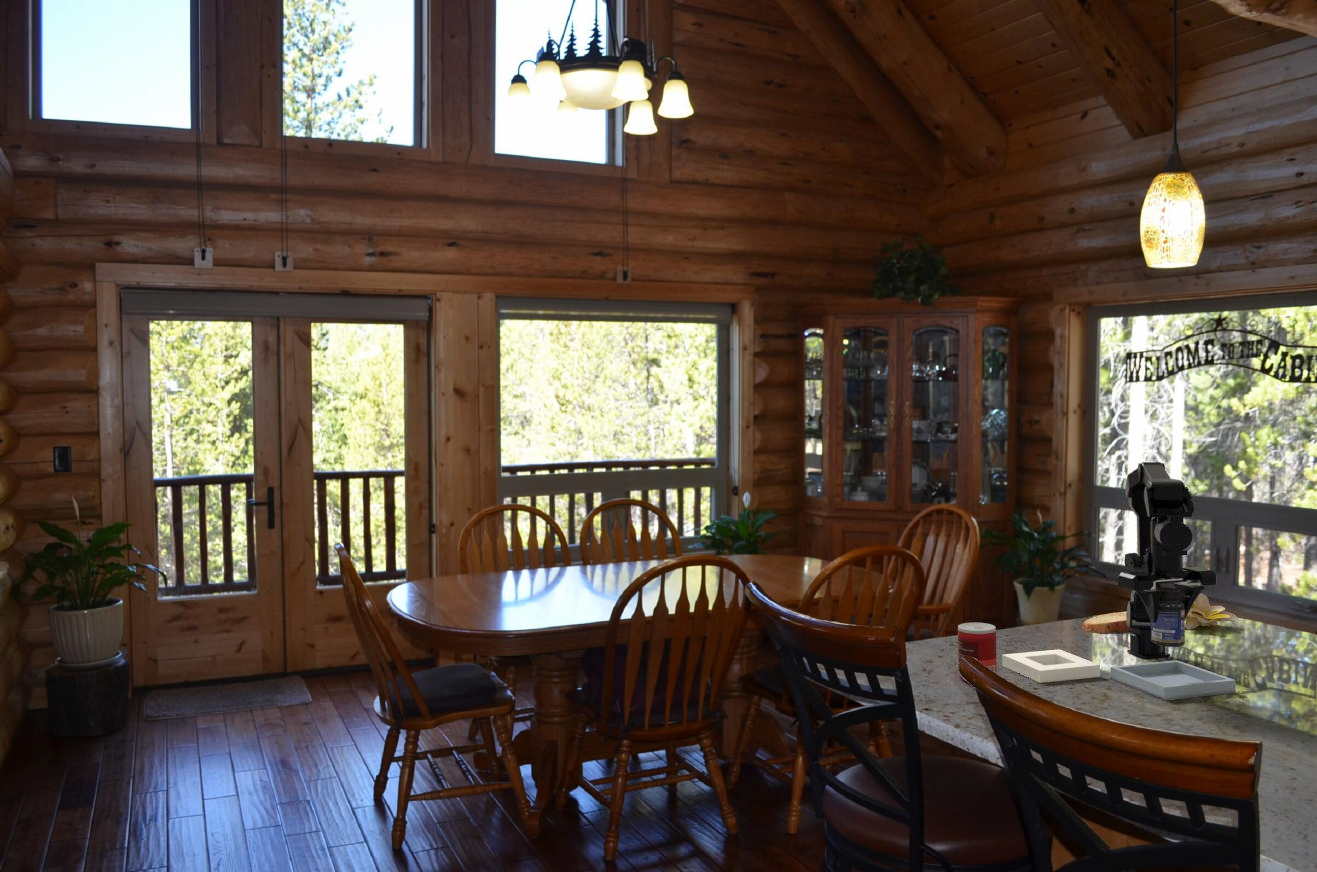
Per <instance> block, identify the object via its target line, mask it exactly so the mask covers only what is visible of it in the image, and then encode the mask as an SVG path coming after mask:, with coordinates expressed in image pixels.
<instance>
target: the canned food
mask: <svg viewBox="0 0 1317 872" xmlns="http://www.w3.org/2000/svg"><path fill="white" fill-rule="evenodd" d="M957 626H958V627H957V650H958V651H957V654H958V655H957V657H958V658H957V659H958V661H957V662H958V663H957V664H958V666H959V662H960V660H961V658H962V657H963V656H965V655H970V656H972V657H974V658H976V659H977V660H978V661H980V663H982V664H983V665H985V666H986V667H988V668H989V669H990V670H992V671H994V672H996V673H998V670H997V669H998V668H997V665H998V664H997V629H996V626H995V625H993V624H991V623H986V622H985V623H984V622H964V623H960V624H958V625H957ZM958 675H959V679H960V680H961V681H963V682H966V681H965V680H963V678H962V677H961V676H960V674H959V673H958Z"/></svg>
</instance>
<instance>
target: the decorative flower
mask: <svg viewBox="0 0 1317 872" xmlns="http://www.w3.org/2000/svg"><path fill="white" fill-rule="evenodd" d="M1225 610H1226V608H1225V607H1224V606H1223V605H1211V604H1210V601H1209V598H1208V596H1207V595H1206V594H1204V593H1200V594H1199V595H1198V597H1197V598H1196V600H1195V601H1194V603H1193V605H1192V607H1191V609H1190V610H1189V612H1188V614H1187V616H1186V618H1185V630H1187V631H1190V630H1193V629H1197V628H1198V627H1200V626H1203V625H1205V626H1206V627H1208V626H1209V627H1210V626H1211V625H1212V626H1214V627H1216V626H1218V622H1219V623H1220V622H1222V621H1224V622H1236V621H1237V622H1238V621H1239V618H1238V617H1237V615H1235V614H1234V613H1233V612H1229V611H1225Z"/></svg>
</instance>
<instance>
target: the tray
mask: <svg viewBox="0 0 1317 872" xmlns="http://www.w3.org/2000/svg"><path fill="white" fill-rule="evenodd" d="M1109 667H1110V668H1109V670H1110V671H1109V672H1110V674H1109V675H1110V676H1109V677H1110V680H1112V681H1114V682H1117V683H1120V684H1122V685H1123V686H1124V685H1125V686H1127V687H1129V688H1132V689H1134V690H1137V691H1140V692H1141V693H1145V694H1148V695H1150V696H1152V697H1154V698H1157V699H1160V700H1162V701H1173V700H1182V699H1193V698H1201V697H1208V696H1209V697H1210V696H1218V695H1220V696H1221V695H1228V694H1236V691H1237V689H1236V688H1237V687H1236V685H1237V684H1236V682H1237V681H1236V680H1237V679H1234V678H1231V677H1227V676H1224V675H1221V674H1219V673H1215V672H1213V671H1209V670H1207V669H1204V668H1201V667H1198V666H1195V665H1194V664H1193V665H1192V664H1189V663H1187V662H1184V661H1181V660H1178V659H1177V660H1176V659H1175V660H1166V661H1155V662H1145V663H1136V664H1125V665H1124V664H1123V665H1114V666H1109Z"/></svg>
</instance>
